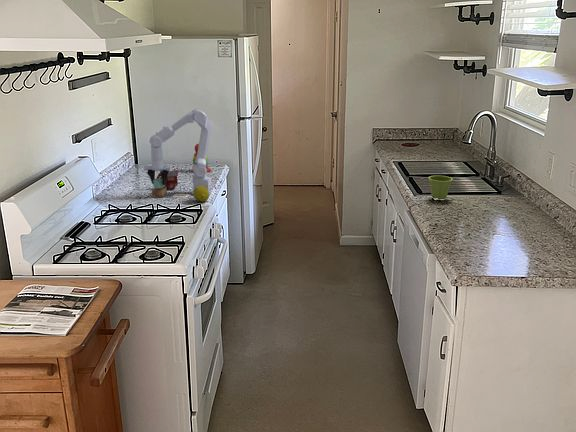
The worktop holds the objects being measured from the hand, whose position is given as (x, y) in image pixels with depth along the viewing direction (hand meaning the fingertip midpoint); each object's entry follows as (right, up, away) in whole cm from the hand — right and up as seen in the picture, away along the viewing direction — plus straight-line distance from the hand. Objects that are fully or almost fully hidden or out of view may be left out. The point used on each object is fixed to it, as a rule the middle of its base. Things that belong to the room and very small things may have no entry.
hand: (159, 184), depth 296 cm
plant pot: (+145, -8, -6) cm, 145 cm away
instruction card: (+11, -6, +2) cm, 13 cm away
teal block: (0, -1, 0) cm, 1 cm away
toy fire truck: (+1, -2, +17) cm, 17 cm away
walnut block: (0, -6, +2) cm, 7 cm away
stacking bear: (+13, +11, +58) cm, 60 cm away
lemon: (+24, -9, -8) cm, 27 cm away
